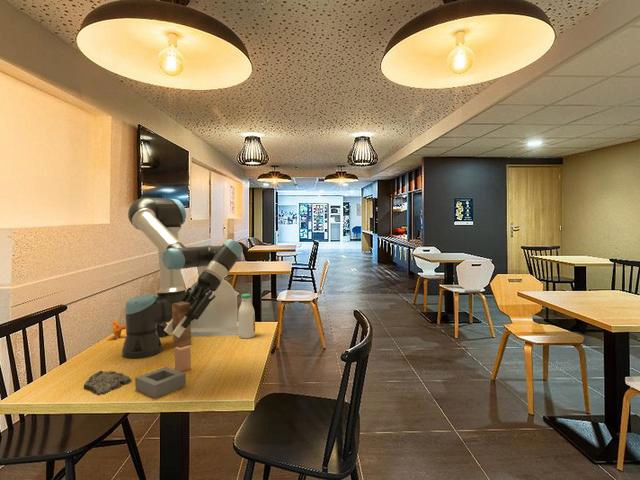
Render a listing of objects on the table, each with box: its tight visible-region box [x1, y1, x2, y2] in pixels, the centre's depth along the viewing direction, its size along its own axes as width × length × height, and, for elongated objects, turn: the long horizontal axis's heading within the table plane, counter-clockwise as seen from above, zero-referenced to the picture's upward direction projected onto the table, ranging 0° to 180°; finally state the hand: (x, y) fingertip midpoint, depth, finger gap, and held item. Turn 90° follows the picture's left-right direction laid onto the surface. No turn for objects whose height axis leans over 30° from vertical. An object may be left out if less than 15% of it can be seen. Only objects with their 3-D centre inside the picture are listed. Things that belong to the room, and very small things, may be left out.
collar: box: [134, 366, 187, 399], centre depth 126 cm, size 11×11×4 cm
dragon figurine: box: [111, 319, 168, 340], centre depth 184 cm, size 10×12×25 cm
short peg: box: [173, 345, 192, 373], centre depth 142 cm, size 4×4×8 cm
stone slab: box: [83, 370, 132, 396], centre depth 130 cm, size 12×17×3 cm
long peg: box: [172, 302, 192, 348], centre depth 128 cm, size 4×4×14 cm
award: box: [190, 278, 239, 338], centre depth 187 cm, size 28×9×28 cm, turn 94°
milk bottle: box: [237, 293, 256, 339], centre depth 182 cm, size 8×8×20 cm
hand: (171, 333), depth 125 cm, fingers closed on long peg, 4 cm apart
